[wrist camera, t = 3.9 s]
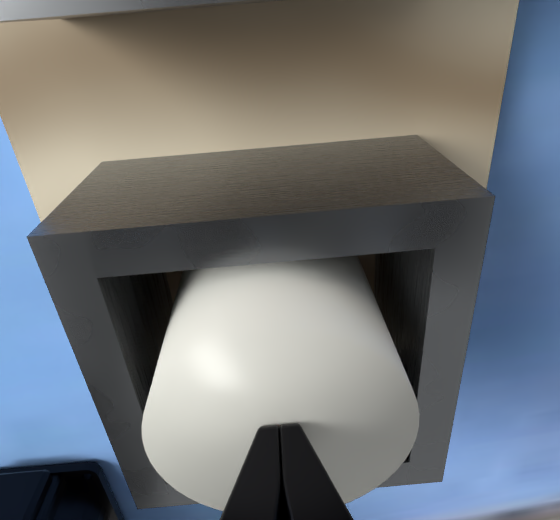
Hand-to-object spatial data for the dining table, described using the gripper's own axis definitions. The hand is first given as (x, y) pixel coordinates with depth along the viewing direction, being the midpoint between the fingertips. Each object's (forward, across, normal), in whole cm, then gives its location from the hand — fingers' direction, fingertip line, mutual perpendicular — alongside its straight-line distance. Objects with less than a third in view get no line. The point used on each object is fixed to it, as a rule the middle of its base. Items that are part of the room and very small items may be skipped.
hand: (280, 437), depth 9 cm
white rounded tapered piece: (+5, 0, 0) cm, 5 cm away
